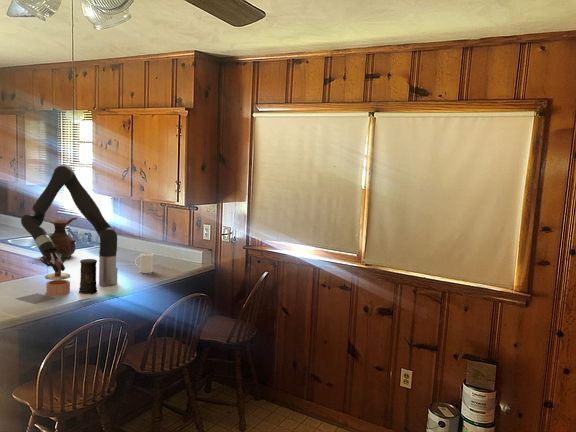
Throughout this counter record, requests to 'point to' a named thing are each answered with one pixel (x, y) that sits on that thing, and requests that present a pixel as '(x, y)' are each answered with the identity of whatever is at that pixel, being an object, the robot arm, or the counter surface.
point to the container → (88, 276)
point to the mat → (36, 298)
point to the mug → (145, 262)
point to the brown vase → (63, 237)
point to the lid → (57, 273)
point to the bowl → (58, 287)
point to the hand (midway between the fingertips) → (60, 270)
